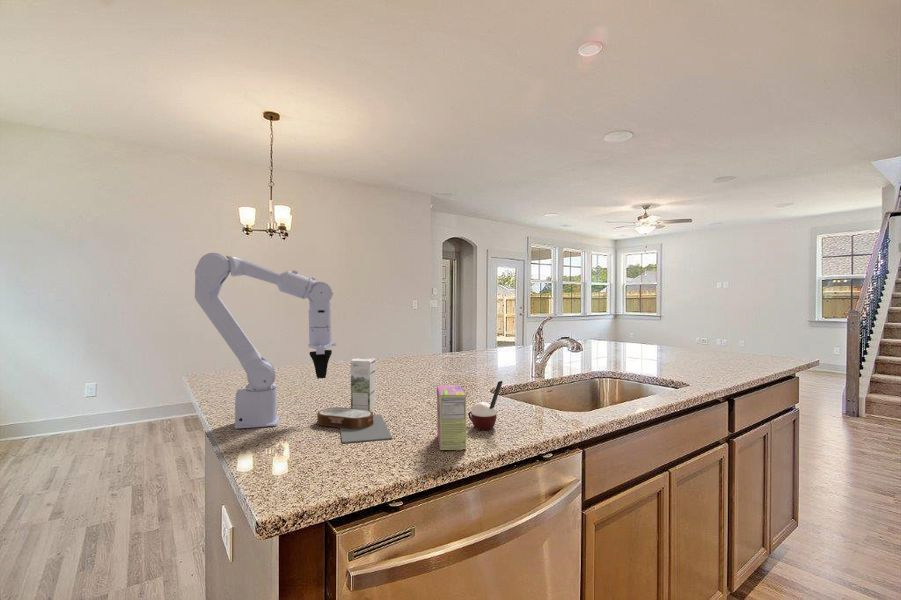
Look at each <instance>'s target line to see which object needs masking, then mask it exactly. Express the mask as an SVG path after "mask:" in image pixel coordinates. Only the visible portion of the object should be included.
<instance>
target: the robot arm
mask: <svg viewBox="0 0 901 600" xmlns="http://www.w3.org/2000/svg"><path fill="white" fill-rule="evenodd" d="M229 275H230V276H231V277H239V276H247V277H249V278H253V279H257V280H260V281H264V282H267V283H269V284H273V285H276V286H277V288H278V290H279V291H280V292H281V293H284V294H287V295H290V296H293V297H296V298H300V299H303V300H306V299H308V302H309V309H308V338H309V339H308V348H310V349H314V351H312V350H311V351H310V352H309V356H310V358H311V360H312V363H313V365H314V371H315V377H316V379H326V377H327V373H328V364H329V362H330V361H329V360H330V358H331V356H332V354H333V353H332V352H333V351H332V349H328V348H331V347H335V346H337V342H332V341H333V340H332V339H333V338H332V336H333V335H332V310H331V300H332V299H333V294H334V293H333V292H332V290H333V289H332V288H331V286H330V285H329V284H328V283H326V282H324V281H316V280H317V278H316V277H313V276H312V277H311V278H310V277H308V276H305V275H302V274H299V272H298V270H295V269H293V270H291V271H290V270H286V271H284V272H278V271H275V270H272V269H270V268H267V267H264V266H261V265H259V264H256V263H253V262H252V261H248V260H245V259H243V258H239V257H234V256H229V255H225V256H224V255H222V254H220V253H218V252H208V253H206V254H204V255H202V257H200V258H199V260H198V262H197V265H196V268H195V269H194V276H195V277H194V281H195V282H194V298H195V299H194V300H196V302H197V303H198V305H199V307H200V308H201V309H202V310H203V312H204V313H205V315H206V316H207V318H208V319H209V320H210V321H211V323H212V325H214V328H216V330H217V331H218V333H219V335H220V336H221V337H222V339H223V340H224V341H225V343H226V344H227V346H228V347H229V348H230V349H231V351H232V353H233V354H234V355H235V357H236V358H237V359H238V361H239V364H240V365H241V368H242V369H243V370H244V371H245V373H246V377H247V378H246V379H247V382H248V384H247V385H246V386H245V388H239V389H237V390H236V392H235V397H234V401H235V402H234V429H235V430H237V429H245V428H246V429H249V428H252V429H253V428H261V427H263V428H264V427H274V426H275V427H276V426H277V425H278V422H279V419H280V415H277V411H278V409H277V408H278V407H277V397H278V396H277V394H278V393H277V389H278V388H277V384H276V383H275V381H276V372H275V368H274V364H273V363H272V362H271V361H269V360H267V359H266V358H264V357H263V356H262V354H261V353H260V352H259V351H258V350H257V348H256V347H255V345H254V344H253V343H252V342H251V340H250V338H249V337H248V335H247V334H246V332H244V330H243V329H242V327H241V325H240V324H239V323H238V321H237V320H236V319H235V318H234V317H235V316H233V314H232V313H231V311H230V309H228V307H227V306H226V305H225V303H224V301H223V300H222V298H221V297H220V292H221V291H222V287H223V283H224V282H225V281H226V279H227V278H228V277H229Z"/></svg>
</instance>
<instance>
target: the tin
mask: <svg viewBox="0 0 901 600" xmlns="http://www.w3.org/2000/svg"><path fill="white" fill-rule="evenodd" d="M316 415H317V417H316V423H317V424H318V425H320V426H324V427H332V428H333V427H334V428H339V429H340V428H348V429H359V428H365V427H369V426H371V425H373V424H374V422H373V415H374V413H373V411H372V410H371V411H368V410H361V409H351V407H349V408H348V407H329V408H325V409H323V410H320V411H318V412H317V414H316Z"/></svg>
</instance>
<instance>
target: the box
mask: <svg viewBox="0 0 901 600" xmlns="http://www.w3.org/2000/svg"><path fill="white" fill-rule="evenodd" d="M436 406H437V407H436V408H437V409H436V412H437V414H436V416H437V419H436V421H437V429H436V430H437V440H438V441H437V442H438V445H439V446H438V447H439V451H440V450H456V451H463V450H462V449H466V450H467V394H466V393H465V391H464V389H463V387H462V385H460V384H452V385H451V384H450V385H449V384H448V385H447V384H446V385H445V384H444V385H443V384H442V385H437V386H436Z"/></svg>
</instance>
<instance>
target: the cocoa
mask: <svg viewBox="0 0 901 600" xmlns="http://www.w3.org/2000/svg"><path fill="white" fill-rule="evenodd" d="M502 384H503V380H500V381H497V384H496V387H495V391H494V394H493V395H492V400H491V402H490V403H488V402H485V401H480V402H478V403H475V404H473V406H472V407H471V411H469V412H468V414H467V415H468V418H469V420H470V421H471V422H472V425H473V427H474V428H476V429H477V428H478V429H477V430H479V429H483V430H482V431H488V430H487V429H489V430H491V429H493V428H494V427H495V424H496V423H497V414H498V409H496V407H495V406H496V403H497V400H498V396H499V393H500V390H501V388H502V386H503V385H502Z"/></svg>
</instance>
